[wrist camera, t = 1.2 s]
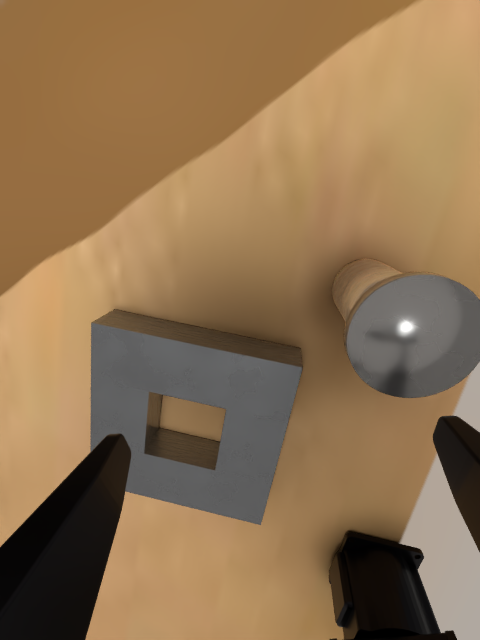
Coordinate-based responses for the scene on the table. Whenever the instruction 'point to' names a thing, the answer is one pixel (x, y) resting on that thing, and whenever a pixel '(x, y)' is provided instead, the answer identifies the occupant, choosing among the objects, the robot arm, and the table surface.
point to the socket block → (198, 386)
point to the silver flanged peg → (407, 328)
